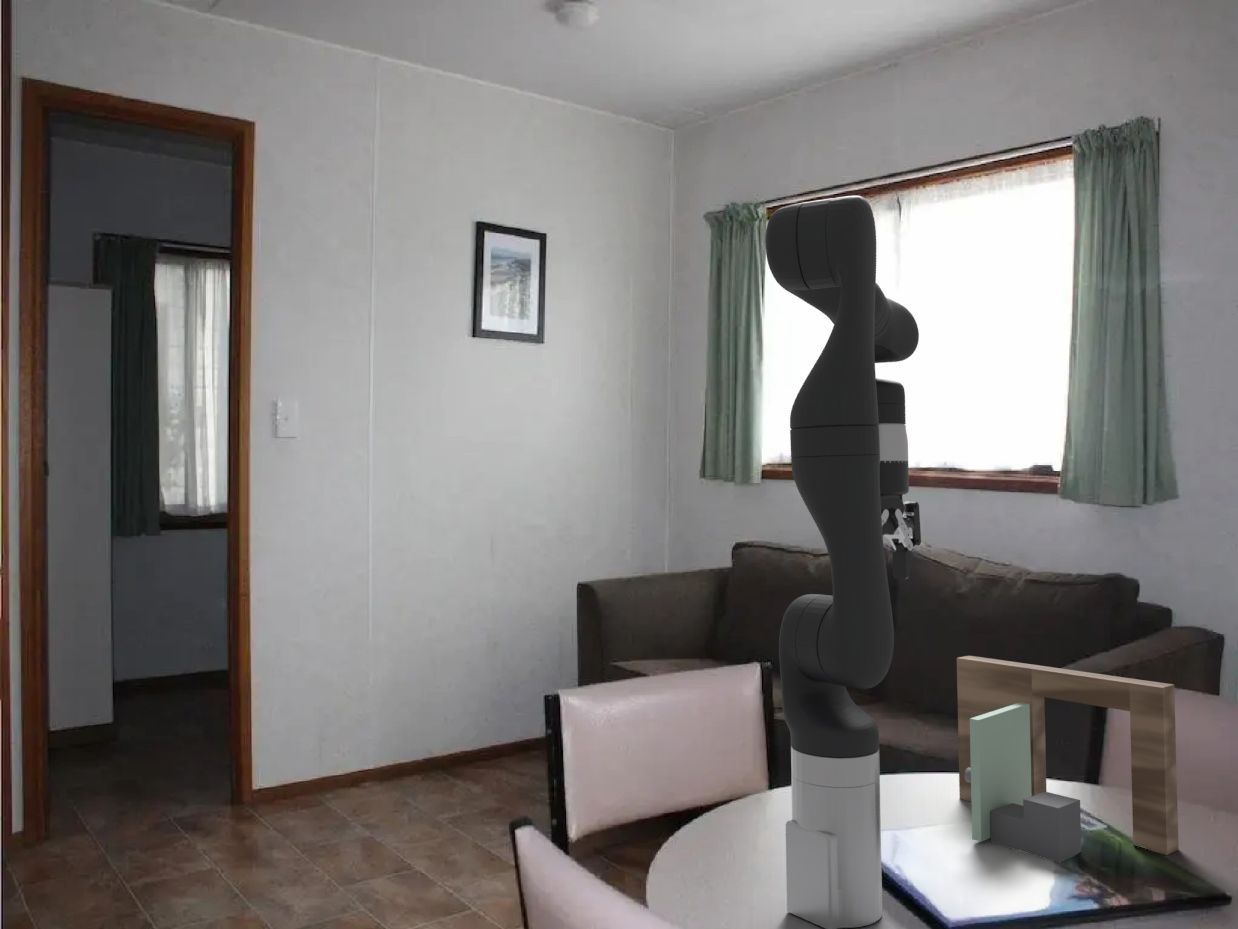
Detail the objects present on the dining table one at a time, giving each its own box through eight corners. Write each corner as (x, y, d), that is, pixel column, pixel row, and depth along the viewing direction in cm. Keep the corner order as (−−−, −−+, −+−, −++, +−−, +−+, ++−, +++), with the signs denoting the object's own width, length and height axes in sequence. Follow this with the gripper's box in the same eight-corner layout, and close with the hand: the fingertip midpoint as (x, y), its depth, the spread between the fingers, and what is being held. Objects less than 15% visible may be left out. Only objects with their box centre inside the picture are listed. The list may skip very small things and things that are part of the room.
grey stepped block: (1059, 863, 119) (1058, 808, 119) (990, 843, 126) (989, 790, 126) (1081, 854, 122) (1080, 800, 122) (1013, 834, 129) (1012, 783, 130)
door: (963, 837, 127) (960, 717, 127) (1014, 813, 136) (1012, 700, 136) (981, 842, 125) (978, 720, 125) (1032, 817, 134) (1029, 703, 134)
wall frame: (1167, 855, 121) (1162, 687, 121) (959, 798, 144) (956, 657, 144) (1178, 849, 123) (1174, 684, 123) (971, 794, 146) (969, 655, 146)
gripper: (867, 457, 128) (869, 586, 127) (935, 458, 136) (937, 579, 136) (821, 459, 134) (823, 582, 133) (889, 460, 142) (892, 575, 142)
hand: (881, 580), depth 134 cm, fingers open, 8 cm apart
